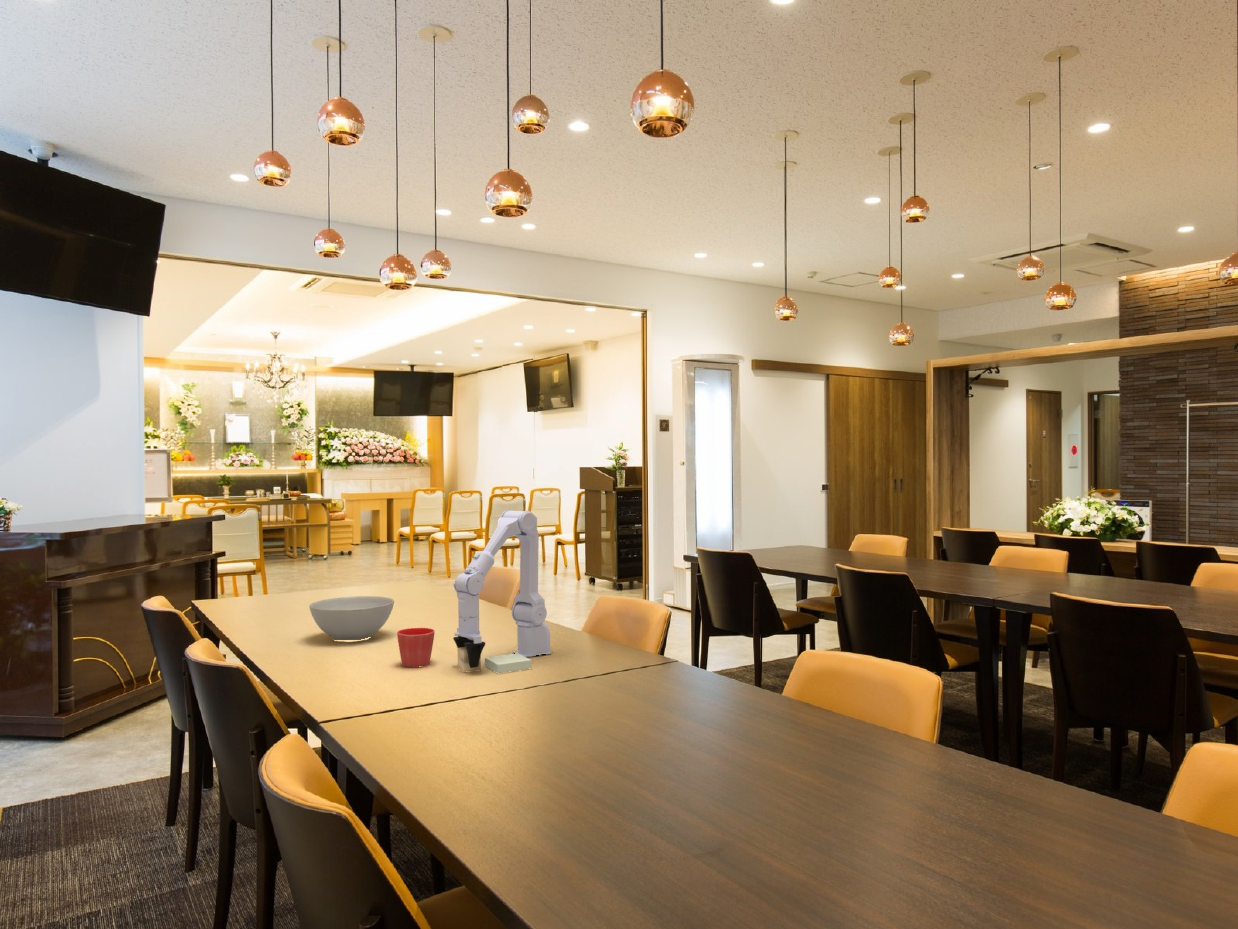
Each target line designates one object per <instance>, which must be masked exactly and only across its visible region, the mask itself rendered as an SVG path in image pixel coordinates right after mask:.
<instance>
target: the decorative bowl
mask: <svg viewBox="0 0 1238 929" xmlns="http://www.w3.org/2000/svg"><path fill="white" fill-rule="evenodd" d="M394 604H395V600H394V599H393V598H390V597H386V596H374V595H371V596H368V595H365V596H364V595H363V596H361V595H360V596H359V595H357V596H343V597H342V596H341V597H334V598H327V599H322V600H318V601H317V600H316V601H314V602H312V603H310V604H309V611H310V613H311V616H312V618H313V620H314V622H315V624H316V625H317V627H318V628H319V629H320V630H321V631H322V632H324V634H326V635H327V636H330V637H331V638H332V640H333V639H334V640H361V639H365V638H368V637H372V638H373V635H375V633H377V632H378V631H380V630H381V629H382V627H383V626H384V625H385V624H386V622H387V621H388V620H389V618H390V615H391V613H392V611H393V609H394Z"/></svg>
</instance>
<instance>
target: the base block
mask: <svg viewBox="0 0 1238 929" xmlns="http://www.w3.org/2000/svg"><path fill="white" fill-rule="evenodd" d="M485 666H486V667H488V668H490V669H491V670H490V669H489V670H490V671H492V670H493V671H495V672H497V673H503V672H509V671H516V672H520V671H519V670H523V671H525V670H524V669H529V668H531V669H532V659H530V658H529V657H524V656H522V655H520V654H518V653H515V654H514V653H509V654H500V655H494V656H487V657H484V667H485ZM486 667H485V668H486ZM488 668H487V669H488ZM493 671H492V672H493ZM495 672H494V673H495ZM497 673H496V674H497ZM503 674H504V673H503Z"/></svg>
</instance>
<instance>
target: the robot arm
mask: <svg viewBox="0 0 1238 929" xmlns="http://www.w3.org/2000/svg"><path fill="white" fill-rule="evenodd" d="M514 536H515V537H516V538H517V540H519V542H520V545H519V546H520V555H519V556H520V557H519V558H520V561H519V566H520V567H519V573H520V574H519V593H518V594H517V595H516V596H514V599H513V606H512V609H511V617H512V619H513V620H514V621H515V625H517V627H516V629H517V632H516V633H517V634H516V636H517V639H516V640H517V650H513V651H512V654H514V653H518V654H520V655H522V656H524V657H526V658H529V657H537V656H536V655H539V656H541V655H540V654H546V655H551V654H552V651H551V632H550V627H549V625H548V624H547V623H545V621H546V619H547V607H546V605H545V598H544V597H543V596H542V595H541V594H540V593H539V549H540V548H539V547H540V546H539V544H540V543H539V540H540V539H539V537H540V536H539V531H538V517H537V516H536V515H535V514H534V513H533V512H532V511H531V510H523V511H522V510H511V509H506V510H504V511H503V512H501V515H500V517H499V518H498V519H497V526H496V528H495V529H494V532H492V535H491V537H490V539H489V540H488V542H487V544H486V546H485V547H484V548H483V550H481V551H477V553H474V555H473V559H471V562H470V563H469V564H468V566H467V567H466V568H465V569H464V572H462V573H460V574H459V575H458V576H457V577H456V579H455V580H454V583H453V585H452V586H453V589H454V591H455V592H456V598H457V602H458V609H457V610H458V611H457V612H458V627H457V628H456V632H454V637H453V638H452V639H453V641H454V642H455V645H456V648H457V649H458V648H461V647H466V650H467V653H468V659H469V665H470V668H475V667H478V665H479V660H480V656H482V652H483V650H484V648H485V646H486V641H483V638H482V635H481V631H480V593H481V592H482V591H483V589H484V586H485V585H484V583H485V580H486V577H487V575H488V573H489V572H490V570H491V569H492V567H493V565H494V564H495V556H496V554H498V552H499V551H500V549H501V548H502V547H503V545H504V544H505V543H506V542H507V540H508V539H509V538H510V537H514Z"/></svg>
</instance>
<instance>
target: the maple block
mask: <svg viewBox="0 0 1238 929" xmlns="http://www.w3.org/2000/svg"><path fill="white" fill-rule="evenodd" d="M481 656H482V655H481ZM481 656H480V660H479V665H478V667H475V668H470V665H469V659H468V653H467V650H466V647H461V648H457V669H458V670H459V669H460V670H461V672H462V671H463V672H466V671H473V672H477V671H476V670H480V671H481V670H482V657H481ZM460 670H459V671H460ZM463 672H462V673H463ZM466 673H467V672H466Z"/></svg>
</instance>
